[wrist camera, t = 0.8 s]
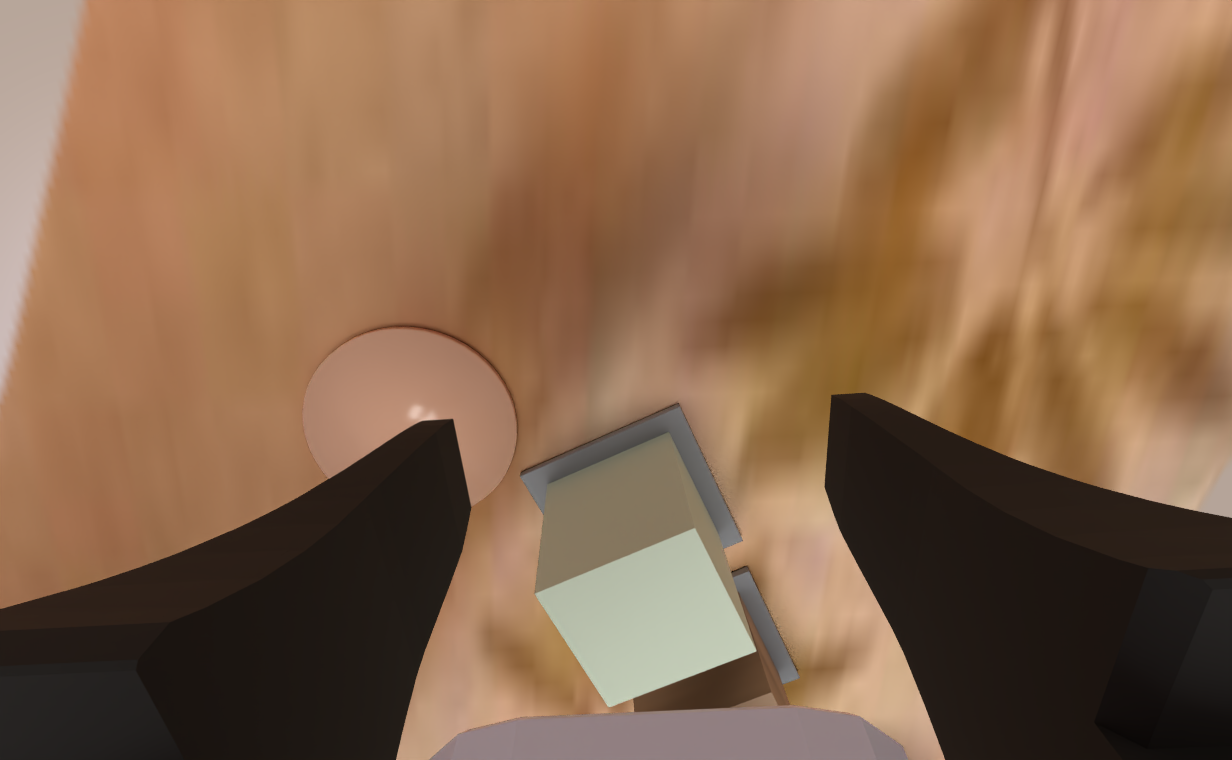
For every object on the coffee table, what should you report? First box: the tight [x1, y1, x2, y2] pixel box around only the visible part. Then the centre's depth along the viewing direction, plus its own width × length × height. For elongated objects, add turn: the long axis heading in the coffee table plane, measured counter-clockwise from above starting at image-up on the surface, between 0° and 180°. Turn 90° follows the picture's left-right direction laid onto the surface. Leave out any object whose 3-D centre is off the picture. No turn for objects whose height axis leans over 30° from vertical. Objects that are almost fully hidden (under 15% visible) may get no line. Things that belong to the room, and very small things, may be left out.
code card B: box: [731, 567, 800, 684], centre depth 27 cm, size 6×6×1 cm
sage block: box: [535, 432, 757, 707], centre depth 21 cm, size 5×5×6 cm
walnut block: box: [633, 592, 790, 712], centre depth 24 cm, size 5×5×5 cm
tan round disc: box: [303, 327, 517, 506], centre depth 22 cm, size 8×8×1 cm
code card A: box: [520, 403, 743, 549], centre depth 24 cm, size 6×6×1 cm
